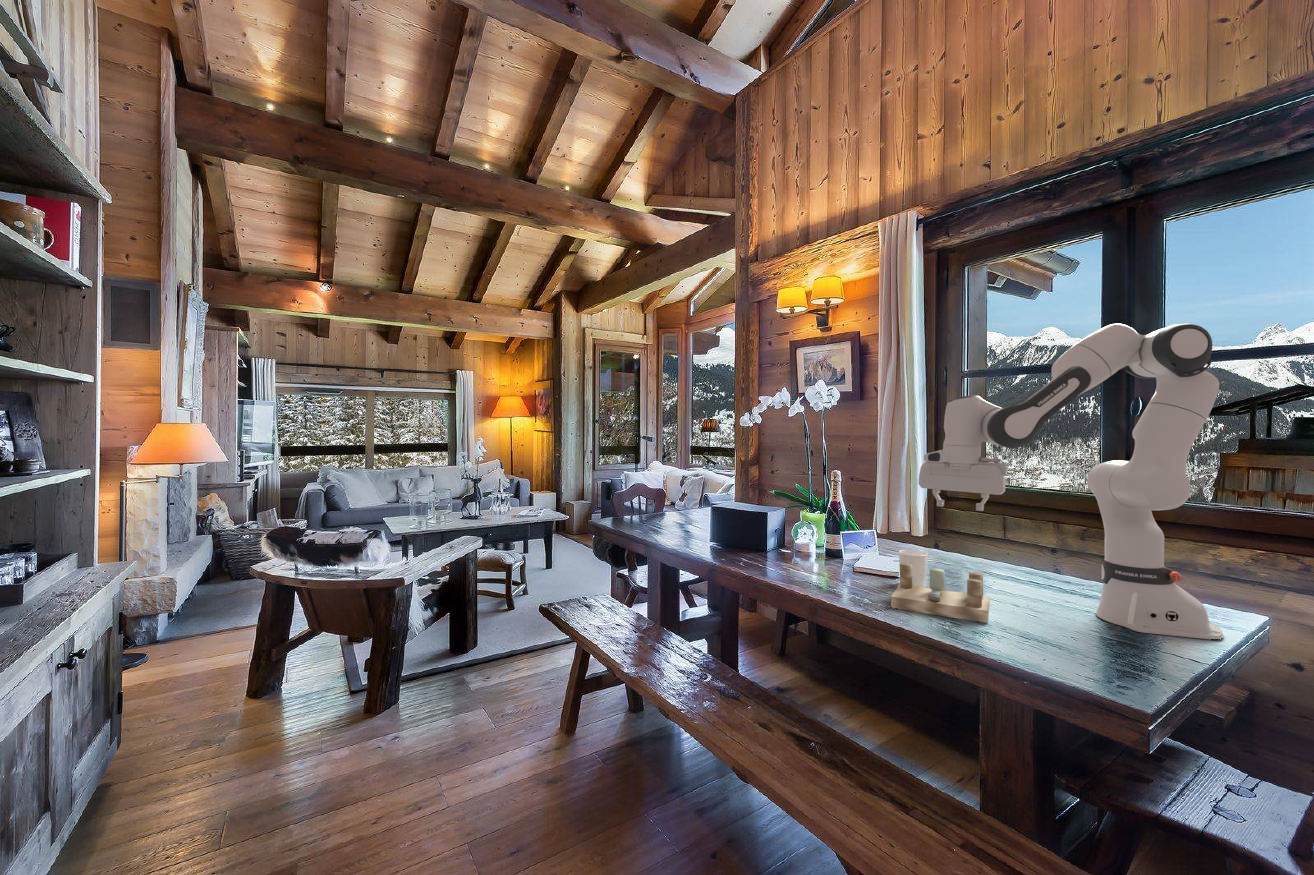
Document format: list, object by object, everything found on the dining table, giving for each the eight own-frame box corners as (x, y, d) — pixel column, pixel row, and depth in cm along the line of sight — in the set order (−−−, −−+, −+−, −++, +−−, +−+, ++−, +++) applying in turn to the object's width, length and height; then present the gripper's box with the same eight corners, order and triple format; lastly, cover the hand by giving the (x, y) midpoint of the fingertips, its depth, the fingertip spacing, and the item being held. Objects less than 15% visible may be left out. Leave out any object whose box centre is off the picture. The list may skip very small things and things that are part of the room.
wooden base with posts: (989, 607, 146) (989, 572, 146) (987, 623, 135) (988, 585, 135) (899, 594, 158) (899, 562, 158) (891, 607, 147) (891, 572, 146)
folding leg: (941, 601, 141) (941, 578, 141) (925, 599, 143) (925, 576, 143) (945, 591, 150) (945, 569, 149) (930, 589, 152) (930, 567, 151)
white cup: (921, 582, 170) (921, 549, 170) (931, 589, 163) (932, 555, 162) (895, 581, 171) (895, 549, 171) (903, 589, 163) (904, 555, 163)
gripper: (1009, 458, 143) (1007, 512, 143) (924, 454, 156) (923, 503, 157) (1004, 459, 138) (1002, 514, 138) (917, 454, 152) (915, 505, 152)
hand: (959, 508), depth 148 cm, fingers open, 8 cm apart
